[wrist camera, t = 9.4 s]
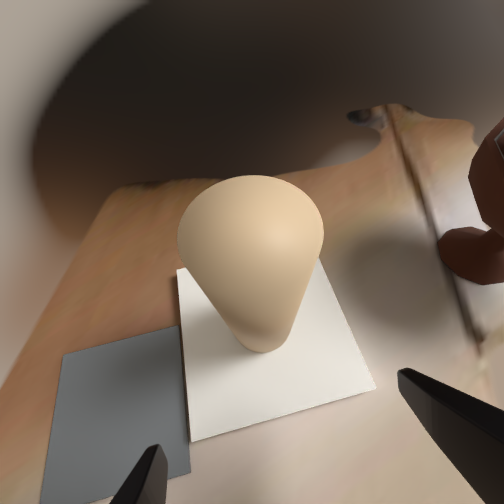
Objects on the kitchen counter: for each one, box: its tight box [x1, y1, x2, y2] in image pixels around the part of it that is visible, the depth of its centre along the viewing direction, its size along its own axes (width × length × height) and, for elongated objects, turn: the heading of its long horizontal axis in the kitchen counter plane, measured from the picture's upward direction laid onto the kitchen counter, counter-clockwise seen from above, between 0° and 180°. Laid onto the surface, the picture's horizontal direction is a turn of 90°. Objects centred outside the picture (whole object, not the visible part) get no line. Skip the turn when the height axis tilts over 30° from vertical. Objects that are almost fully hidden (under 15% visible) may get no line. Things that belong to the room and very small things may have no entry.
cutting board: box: [177, 258, 377, 442], centre depth 18 cm, size 12×12×1 cm
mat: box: [40, 325, 191, 504], centre depth 16 cm, size 9×9×1 cm
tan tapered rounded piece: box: [177, 175, 324, 353], centre depth 12 cm, size 4×4×12 cm
